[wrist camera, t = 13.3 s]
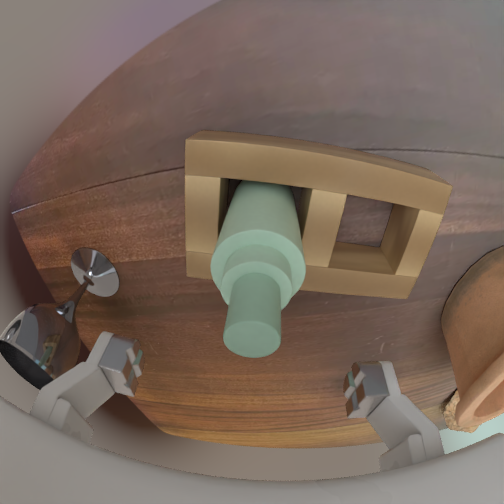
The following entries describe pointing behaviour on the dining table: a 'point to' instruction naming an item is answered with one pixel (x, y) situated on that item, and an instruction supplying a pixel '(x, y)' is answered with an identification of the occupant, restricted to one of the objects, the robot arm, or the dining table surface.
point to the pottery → (477, 340)
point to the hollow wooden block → (317, 207)
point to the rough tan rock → (450, 416)
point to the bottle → (258, 265)
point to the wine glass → (56, 324)
